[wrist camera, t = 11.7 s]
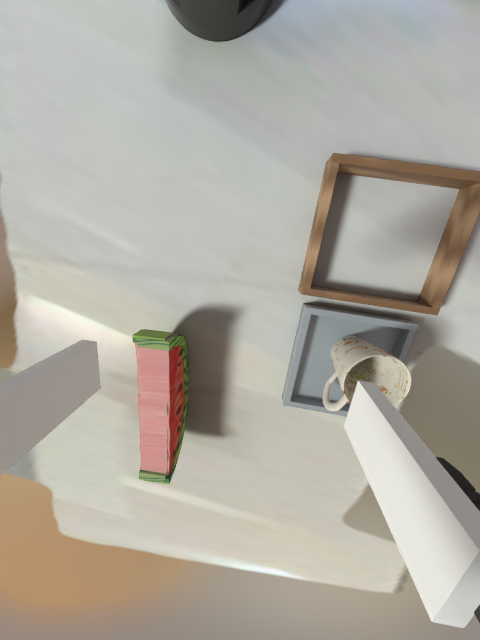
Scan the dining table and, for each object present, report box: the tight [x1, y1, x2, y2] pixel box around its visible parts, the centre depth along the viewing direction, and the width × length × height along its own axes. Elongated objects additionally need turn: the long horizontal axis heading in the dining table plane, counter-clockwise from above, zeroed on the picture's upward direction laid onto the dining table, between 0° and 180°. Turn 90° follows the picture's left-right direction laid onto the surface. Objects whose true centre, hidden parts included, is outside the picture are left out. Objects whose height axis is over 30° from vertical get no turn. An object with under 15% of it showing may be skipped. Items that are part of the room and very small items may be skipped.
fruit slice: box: [133, 329, 189, 484], centre depth 40 cm, size 26×6×10 cm, turn 175°
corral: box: [298, 153, 480, 315], centre depth 33 cm, size 18×20×4 cm
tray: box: [282, 304, 419, 416], centre depth 39 cm, size 18×17×2 cm
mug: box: [323, 336, 411, 411], centre depth 35 cm, size 8×13×10 cm, turn 150°
